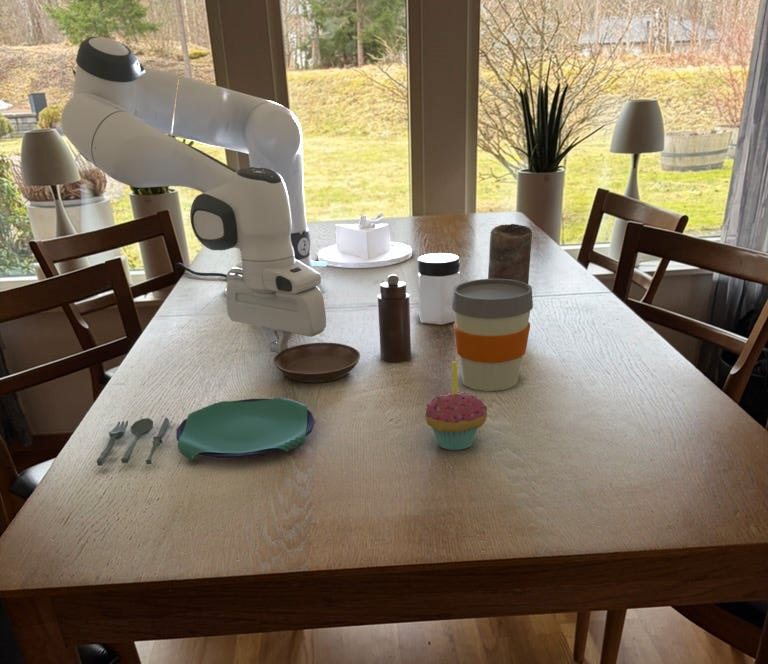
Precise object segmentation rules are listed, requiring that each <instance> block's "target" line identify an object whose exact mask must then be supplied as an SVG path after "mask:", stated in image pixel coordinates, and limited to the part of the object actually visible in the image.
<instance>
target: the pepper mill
mask: <svg viewBox="0 0 768 664" xmlns="http://www.w3.org/2000/svg"><path fill="white" fill-rule="evenodd" d="M399 278H400V277H399V276H398V275H396V274H394V273H393V274H390V275H388V277H387V278H386V281H383V282H382V283H380V284H379V287H380V288H379V289H380V294H378V295H377V307H378V327H379V328H378V329H379V330H378V331H379V348H380V349H379V350H380V351H379V353H380V359H381V360H382V361H383V362H386V363H391V364H392V363H403V362H406V361H409V360H411V358H412V348H411V347H412V343H411V342H412V340H411V310H410V309H411V308H410V305H411V304H410V294H409V293H407V283H406V282H405V281H401V280H400V279H399Z"/></svg>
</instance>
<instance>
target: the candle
mask: <svg viewBox="0 0 768 664" xmlns="http://www.w3.org/2000/svg"><path fill="white" fill-rule="evenodd" d="M532 238H533V231H532V229H531V228H530V227H528V226H527V225H522V224H517V223H511V224H505V223H504V224H500V225H496V226H495V227H493V228H492V229H491V231H490V235H489V248H488V250H489V251H488V252H489V253H488V269H487V271H488V272H487V279H509V280H516V281H521V282H524V283H527V284H528V285H529V281H530V280H529V279H530V267H531V266H530V265H531V253H532Z"/></svg>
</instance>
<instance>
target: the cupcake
mask: <svg viewBox="0 0 768 664" xmlns="http://www.w3.org/2000/svg"><path fill="white" fill-rule="evenodd" d="M452 357H453V360H452V362H451V374H452V375H451V376H452V391H451V392H445V393H443V394H441V395H440V394H439V395H437V396H435V398H433V399H432V400H431V401H429V403H427V404H426V408H425V413H424V419H425V422H426V424H427V426H429V427H430V428H431V429H432V430H433V433H434V435H435V438H436V442H437V444H438V446H439V447H441V448H442V449H445V450H448V451H461V450H465V449H468V448H470V447H471V446H472V445H473V442H474V440H475V437H476V434H477V431H478V429H479V428H481V427H482V426H483V425H484V424H485V423H486V421H487V418H488V406H487V405H485V403H484V402H483V401H482V399H481V398H478V397H477V395H473V394H469V393H468V392H460V391H459V390H458V361H456V355H453V356H452Z"/></svg>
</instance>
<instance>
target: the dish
mask: <svg viewBox="0 0 768 664" xmlns="http://www.w3.org/2000/svg"><path fill="white" fill-rule="evenodd" d="M383 217H385V214H384V213H383V212H381V213H380V214H378V215H377V216H376V217H375V218H374V219H371V218H368V217H367V216H366V215H365V214H362V215H361V217H360V218H359V221H358V223H354V224H353V223H341V224H339V223H336V224H334V234H335V244H333V245H330V246H327V247H324V248H322V249H320V250H319V251H318V252H317V258H318V262H326V263H327V266H329V267H336V268H344V269H345V268H346V269H367V268H377V267H386V266H391V265H395V264H396V265H397V264H400V263H402V262H405V261H408V260H409V259H410V258H411V257H412V256H413V249H412V247H411V246H410V245H407V244H404V243H402V242H395V241H391V227H390V223H377V222H378V221H379V220H381V219H382V218H383Z"/></svg>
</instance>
